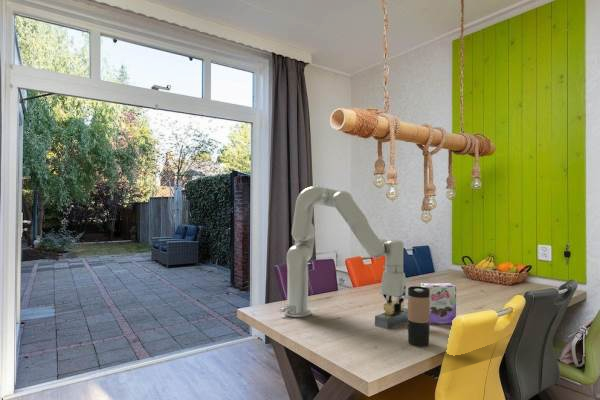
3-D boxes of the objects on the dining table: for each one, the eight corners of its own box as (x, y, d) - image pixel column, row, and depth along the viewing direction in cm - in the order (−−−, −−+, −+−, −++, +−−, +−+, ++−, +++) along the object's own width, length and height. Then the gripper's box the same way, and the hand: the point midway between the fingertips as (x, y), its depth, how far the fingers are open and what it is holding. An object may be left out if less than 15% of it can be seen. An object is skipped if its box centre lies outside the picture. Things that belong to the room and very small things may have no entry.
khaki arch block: (390, 321, 152) (390, 305, 152) (383, 319, 154) (383, 304, 154) (403, 315, 159) (403, 301, 160) (397, 314, 162) (397, 299, 162)
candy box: (424, 324, 154) (425, 285, 154) (419, 320, 160) (419, 282, 160) (456, 324, 155) (456, 285, 155) (449, 319, 161) (450, 282, 161)
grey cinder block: (387, 329, 148) (387, 319, 148) (374, 325, 152) (374, 316, 152) (411, 318, 162) (411, 309, 162) (399, 315, 166) (399, 306, 166)
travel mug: (418, 338, 138) (418, 285, 138) (434, 345, 131) (434, 289, 131) (403, 341, 134) (403, 287, 134) (418, 349, 127) (419, 291, 128)
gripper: (373, 267, 160) (372, 309, 160) (407, 272, 149) (406, 317, 148) (382, 265, 165) (382, 305, 165) (416, 270, 154) (415, 314, 154)
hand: (393, 311), depth 157 cm, fingers closed on khaki arch block, 3 cm apart
